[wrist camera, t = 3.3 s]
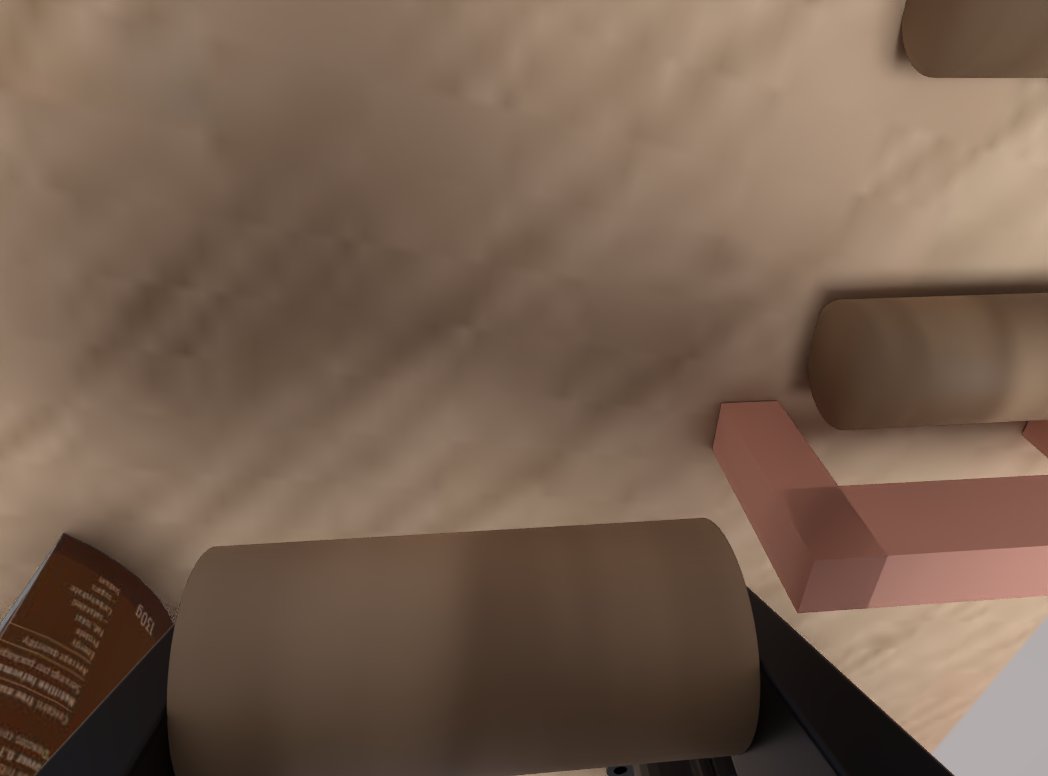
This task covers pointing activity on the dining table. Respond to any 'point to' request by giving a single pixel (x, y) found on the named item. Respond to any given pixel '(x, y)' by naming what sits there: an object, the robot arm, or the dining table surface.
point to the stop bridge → (882, 523)
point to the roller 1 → (464, 653)
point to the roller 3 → (931, 360)
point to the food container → (69, 649)
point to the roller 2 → (977, 38)
